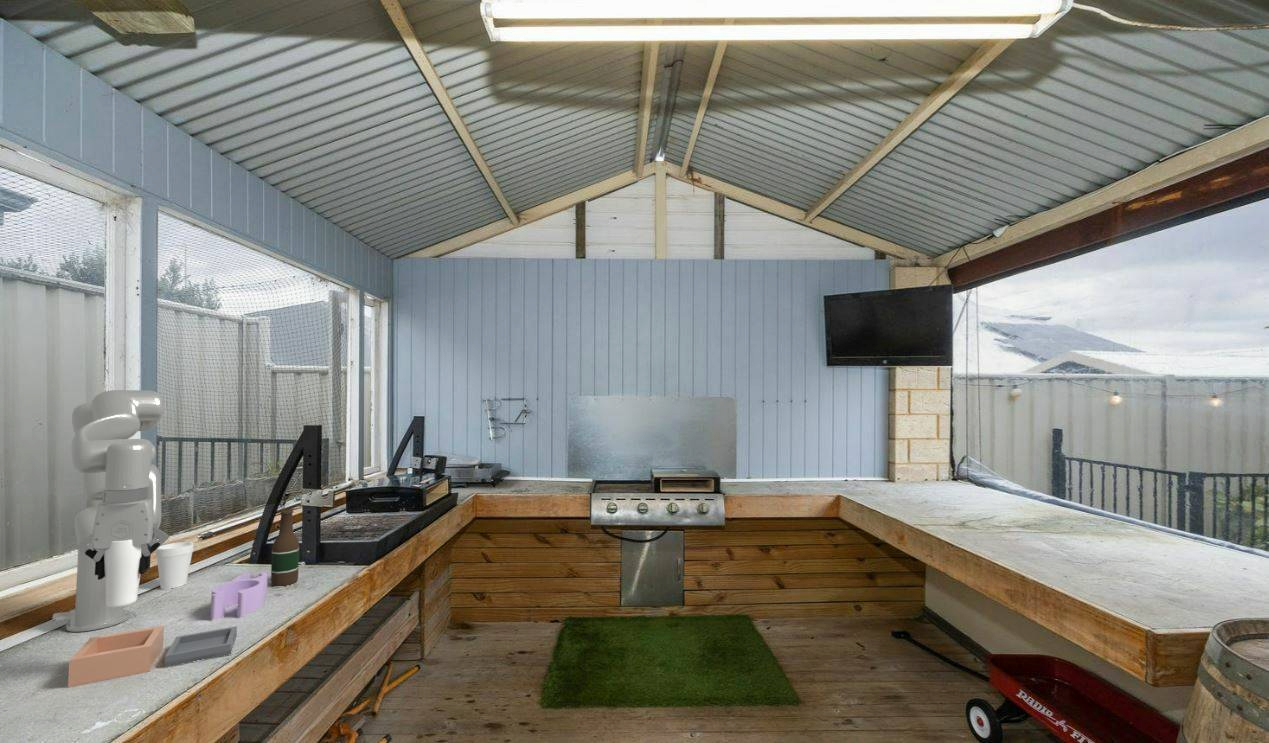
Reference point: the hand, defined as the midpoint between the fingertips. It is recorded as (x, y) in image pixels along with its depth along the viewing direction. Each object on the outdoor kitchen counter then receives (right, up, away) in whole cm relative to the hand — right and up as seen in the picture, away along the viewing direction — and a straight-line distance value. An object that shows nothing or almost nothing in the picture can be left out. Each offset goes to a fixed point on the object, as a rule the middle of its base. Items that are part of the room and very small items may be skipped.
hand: (122, 574), depth 125 cm
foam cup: (-33, -24, +53) cm, 67 cm away
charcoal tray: (+13, -21, +6) cm, 25 cm away
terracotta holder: (0, -20, -1) cm, 20 cm away
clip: (+2, -23, +35) cm, 42 cm away
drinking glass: (0, -7, 0) cm, 7 cm away
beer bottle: (+2, -24, +55) cm, 60 cm away
